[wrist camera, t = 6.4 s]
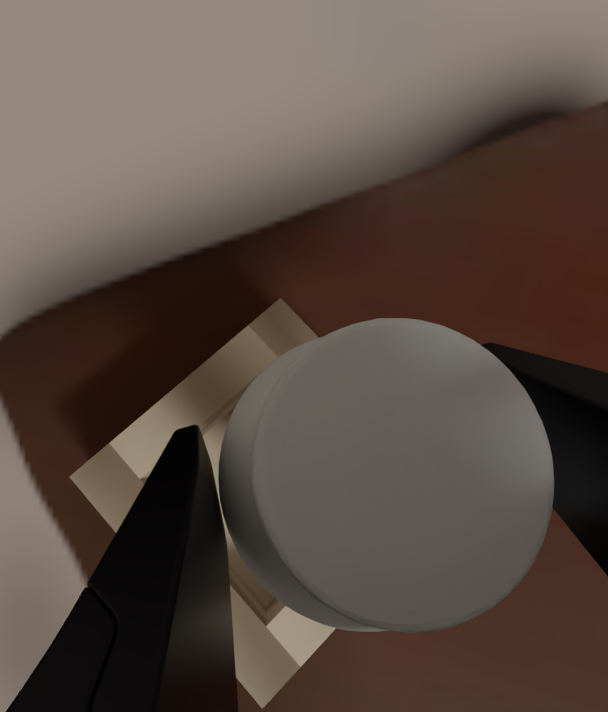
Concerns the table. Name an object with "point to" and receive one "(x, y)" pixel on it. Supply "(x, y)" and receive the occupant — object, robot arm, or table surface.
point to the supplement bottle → (387, 478)
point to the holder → (212, 414)
